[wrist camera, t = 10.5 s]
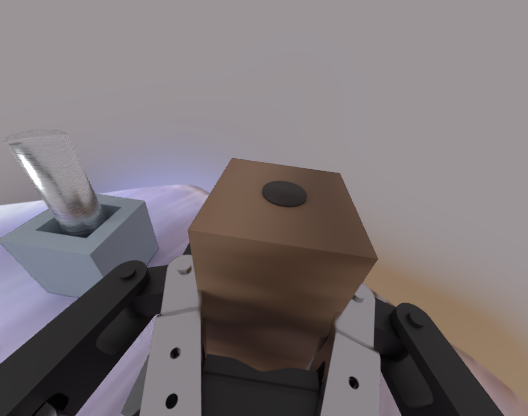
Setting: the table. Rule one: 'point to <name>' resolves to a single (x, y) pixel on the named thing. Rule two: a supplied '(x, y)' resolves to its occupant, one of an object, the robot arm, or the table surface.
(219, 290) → the walnut block
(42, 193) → the cylinder
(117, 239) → the square socket block
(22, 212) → the table surface
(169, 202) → the table surface
